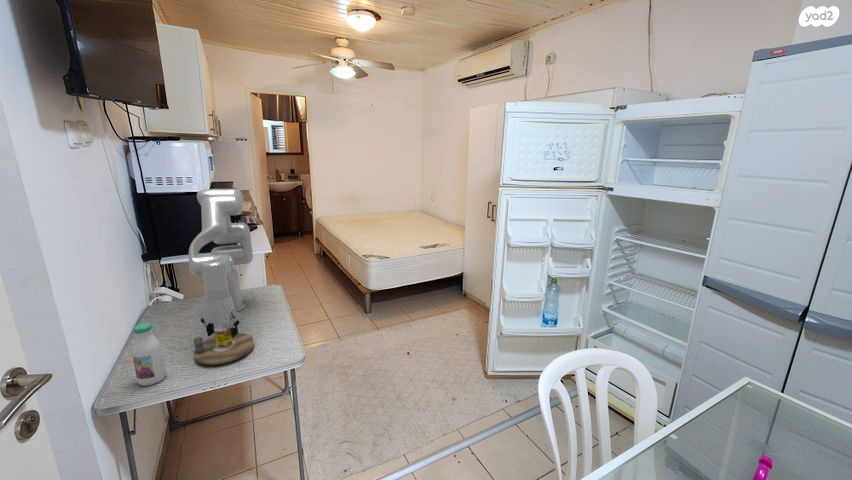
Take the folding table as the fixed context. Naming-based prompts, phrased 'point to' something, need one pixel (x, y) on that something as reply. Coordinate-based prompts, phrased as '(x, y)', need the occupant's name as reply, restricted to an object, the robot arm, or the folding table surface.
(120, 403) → the folding table surface
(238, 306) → the robot arm
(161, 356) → the milk bottle
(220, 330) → the supplement bottle
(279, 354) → the folding table surface
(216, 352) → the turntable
